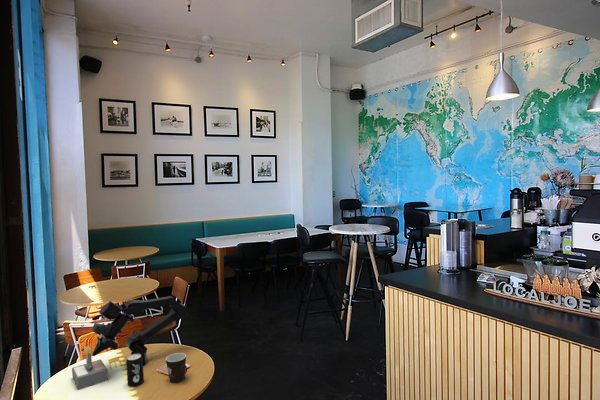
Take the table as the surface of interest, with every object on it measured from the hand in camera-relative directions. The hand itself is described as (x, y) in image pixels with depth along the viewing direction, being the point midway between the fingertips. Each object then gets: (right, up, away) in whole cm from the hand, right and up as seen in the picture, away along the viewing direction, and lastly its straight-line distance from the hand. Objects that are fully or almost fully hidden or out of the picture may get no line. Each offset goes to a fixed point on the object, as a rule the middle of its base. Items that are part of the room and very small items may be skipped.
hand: (92, 355), depth 183 cm
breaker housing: (-1, -11, 0) cm, 11 cm away
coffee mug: (+40, -9, -5) cm, 41 cm away
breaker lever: (-1, -4, -1) cm, 5 cm away
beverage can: (+22, -10, -6) cm, 25 cm away
